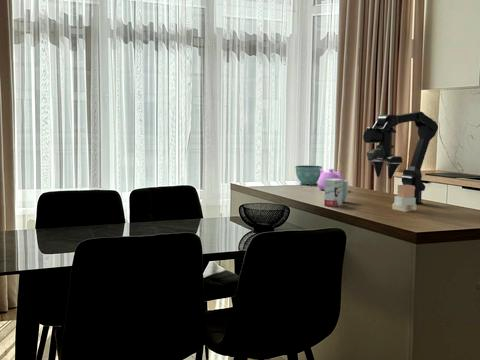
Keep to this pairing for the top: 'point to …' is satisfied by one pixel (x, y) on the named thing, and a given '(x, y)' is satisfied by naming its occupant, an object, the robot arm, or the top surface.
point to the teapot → (327, 177)
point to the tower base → (403, 207)
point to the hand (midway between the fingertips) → (383, 177)
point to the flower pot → (308, 174)
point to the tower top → (404, 201)
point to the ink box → (333, 192)
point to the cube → (406, 191)
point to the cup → (344, 190)
